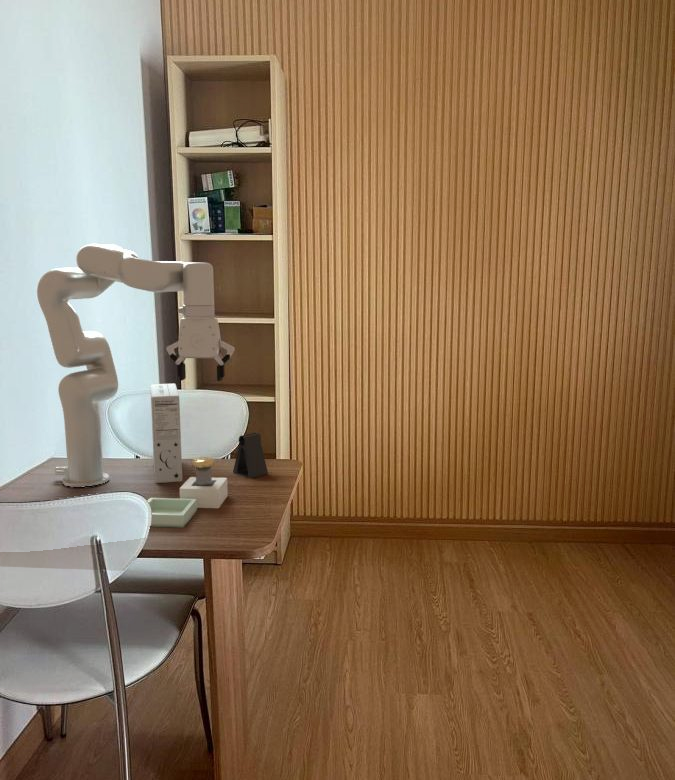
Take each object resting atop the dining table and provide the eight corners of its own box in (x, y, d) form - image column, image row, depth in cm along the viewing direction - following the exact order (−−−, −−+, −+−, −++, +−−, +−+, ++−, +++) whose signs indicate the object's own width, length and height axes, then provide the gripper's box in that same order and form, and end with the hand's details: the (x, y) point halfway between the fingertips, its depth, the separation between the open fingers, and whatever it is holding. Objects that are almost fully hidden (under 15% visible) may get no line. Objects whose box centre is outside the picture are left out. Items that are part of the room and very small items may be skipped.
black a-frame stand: (232, 472, 215) (232, 433, 213) (248, 468, 220) (247, 430, 218) (252, 478, 209) (251, 438, 207) (268, 474, 214) (267, 435, 211)
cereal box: (153, 463, 225) (150, 384, 221) (178, 461, 227) (175, 383, 223) (155, 483, 205) (151, 396, 200) (182, 481, 207) (179, 395, 202)
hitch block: (180, 507, 185) (179, 488, 184) (191, 494, 195) (190, 476, 194) (218, 508, 184) (218, 489, 183) (227, 495, 194) (227, 477, 193)
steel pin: (191, 504, 187) (189, 462, 185) (196, 497, 192) (195, 456, 190) (212, 505, 186) (211, 463, 185) (217, 498, 192) (216, 457, 190)
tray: (134, 526, 172) (133, 513, 171) (150, 509, 184) (150, 497, 183) (183, 527, 171) (183, 515, 170) (197, 510, 183) (196, 499, 182)
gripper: (160, 313, 178) (163, 381, 181) (230, 313, 177) (231, 382, 180) (169, 311, 185) (172, 377, 188) (236, 311, 184) (238, 378, 187)
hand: (201, 379), depth 184 cm, fingers open, 9 cm apart
